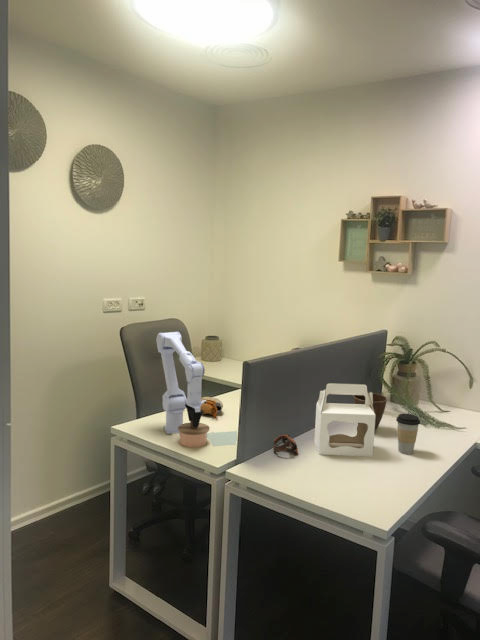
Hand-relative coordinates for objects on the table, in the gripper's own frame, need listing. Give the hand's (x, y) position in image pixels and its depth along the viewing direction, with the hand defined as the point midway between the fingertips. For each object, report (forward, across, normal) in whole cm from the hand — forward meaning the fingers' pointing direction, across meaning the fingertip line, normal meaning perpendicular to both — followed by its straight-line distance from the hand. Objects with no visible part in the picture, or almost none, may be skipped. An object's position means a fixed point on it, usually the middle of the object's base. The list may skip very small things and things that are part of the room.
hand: (193, 423), depth 210 cm
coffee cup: (+8, -28, -84) cm, 89 cm away
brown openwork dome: (+9, -17, -35) cm, 40 cm away
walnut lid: (+2, 0, 0) cm, 2 cm away
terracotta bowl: (+8, 0, 0) cm, 8 cm away
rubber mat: (+8, +1, -14) cm, 17 cm away
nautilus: (+9, +34, -15) cm, 38 cm away
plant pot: (+8, -2, -82) cm, 82 cm away
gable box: (+9, -20, -59) cm, 63 cm away
